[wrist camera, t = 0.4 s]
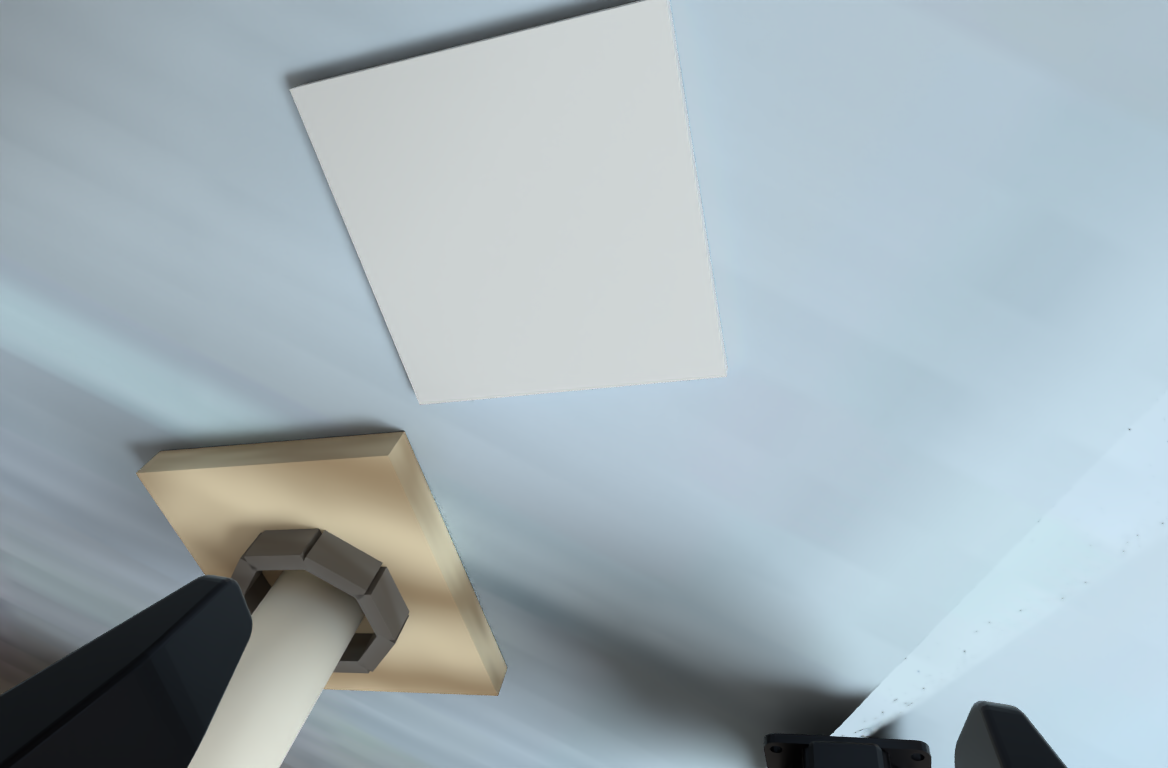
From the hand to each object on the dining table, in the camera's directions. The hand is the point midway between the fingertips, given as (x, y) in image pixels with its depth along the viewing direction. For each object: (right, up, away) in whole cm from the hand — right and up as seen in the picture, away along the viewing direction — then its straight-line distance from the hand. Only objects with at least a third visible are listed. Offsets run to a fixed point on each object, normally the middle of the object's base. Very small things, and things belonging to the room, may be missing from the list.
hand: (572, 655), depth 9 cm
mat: (-2, +8, +14) cm, 16 cm away
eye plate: (-11, -5, +25) cm, 27 cm away
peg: (-11, -6, +23) cm, 26 cm away
